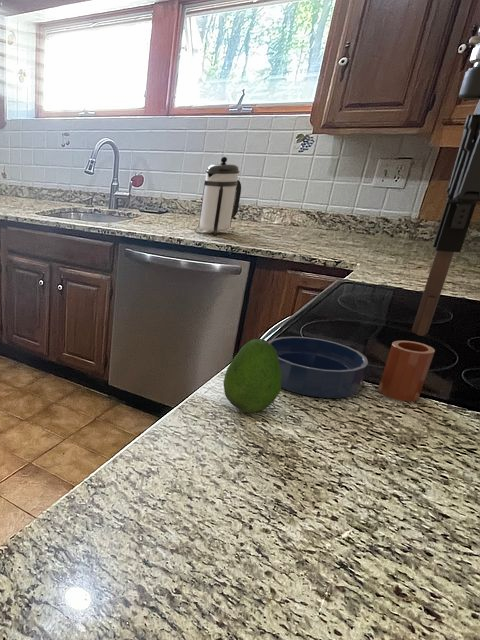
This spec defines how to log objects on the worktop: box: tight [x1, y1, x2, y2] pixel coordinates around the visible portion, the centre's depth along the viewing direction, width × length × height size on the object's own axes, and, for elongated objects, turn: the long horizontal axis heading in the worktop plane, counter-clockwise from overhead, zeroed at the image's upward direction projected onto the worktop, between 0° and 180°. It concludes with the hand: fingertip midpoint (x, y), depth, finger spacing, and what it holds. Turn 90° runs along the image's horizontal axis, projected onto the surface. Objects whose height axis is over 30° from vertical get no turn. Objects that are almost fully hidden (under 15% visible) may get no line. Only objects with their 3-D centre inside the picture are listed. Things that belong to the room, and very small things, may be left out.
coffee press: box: [194, 156, 242, 237], centre depth 216 cm, size 17×16×30 cm
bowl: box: [268, 336, 369, 399], centre depth 90 cm, size 15×15×6 cm
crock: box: [377, 340, 436, 402], centre depth 84 cm, size 5×6×9 cm
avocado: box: [223, 338, 282, 413], centre depth 80 cm, size 8×8×12 cm
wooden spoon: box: [411, 168, 463, 337], centre depth 76 cm, size 3×2×24 cm, turn 149°
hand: (446, 249), depth 76 cm, fingers closed on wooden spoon, 2 cm apart
